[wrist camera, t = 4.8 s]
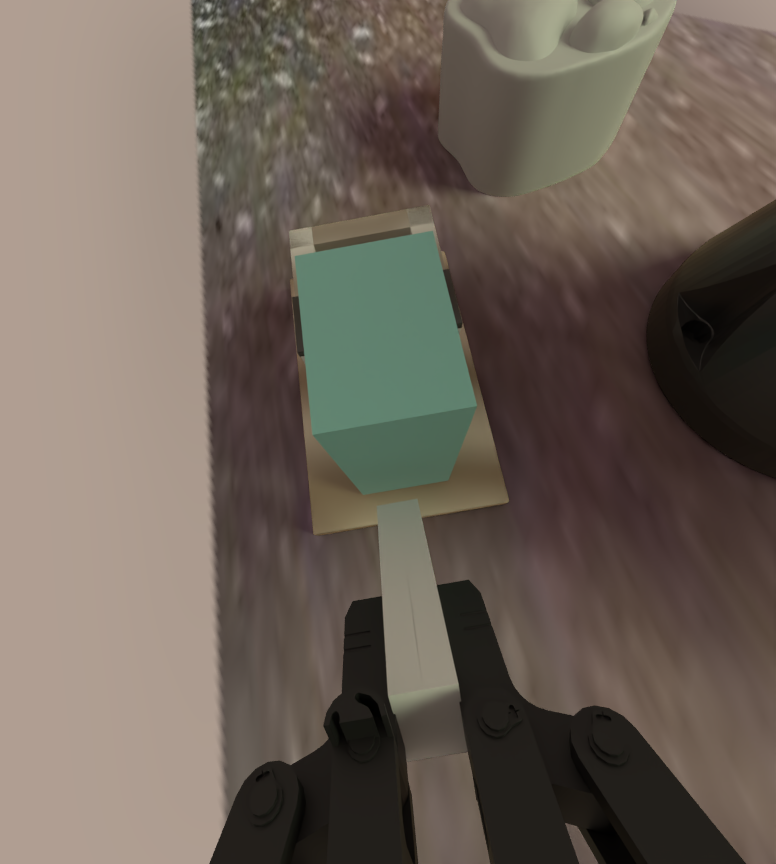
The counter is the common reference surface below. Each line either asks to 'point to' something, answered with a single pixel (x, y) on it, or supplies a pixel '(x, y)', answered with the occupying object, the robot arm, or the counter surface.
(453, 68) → the lumpy-topped squat cylinder
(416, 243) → the teal block
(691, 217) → the counter surface
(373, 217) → the guide channel
